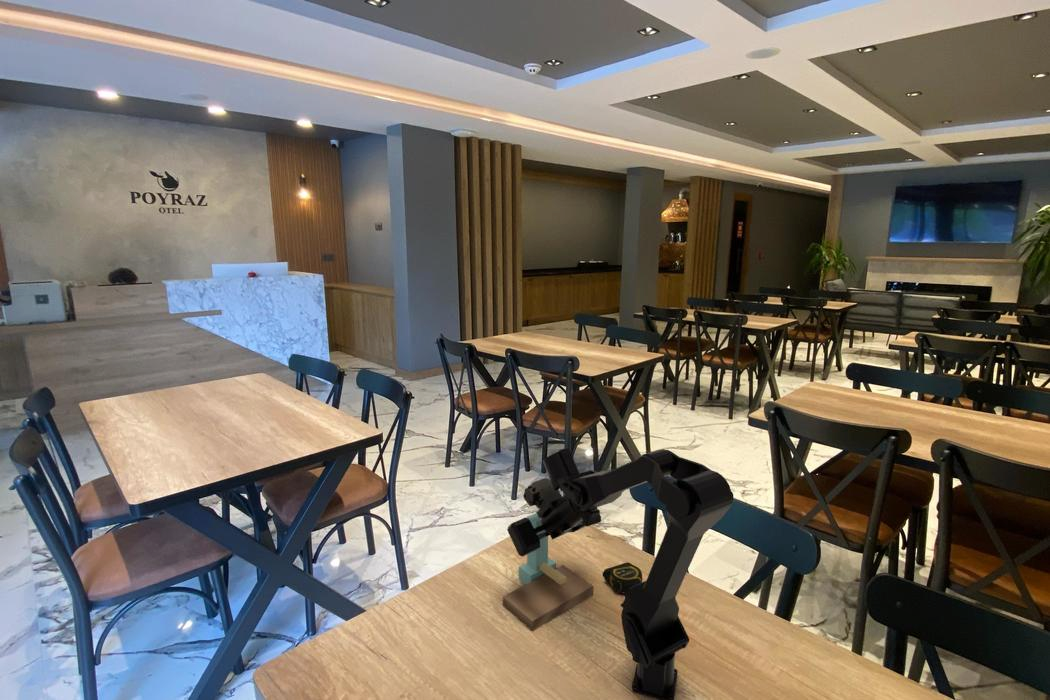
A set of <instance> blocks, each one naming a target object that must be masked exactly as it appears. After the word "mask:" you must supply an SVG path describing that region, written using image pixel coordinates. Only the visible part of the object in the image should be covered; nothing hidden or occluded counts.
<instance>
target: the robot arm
mask: <svg viewBox="0 0 1050 700" xmlns="http://www.w3.org/2000/svg"><path fill="white" fill-rule="evenodd" d="M542 463H543V465H544V467H545V470H546V472H547V475H548V478H547V477H545V478H541V479H538V480H536V481H534V482H532V483H531V484H530V485H528V486H527V487H526V488H525V489H524V493H523V496H522V497H523V499H524V501H525V502H526V503H527V505H529V507H533V506H536V508H538V510H537V511H536V512H535V513H537V515H538V517H539V518H542V519H541V523H542V525H541V526H538V527H536V528H533V525H532V523H531V521H530V520H529V519H527V516H526V517H524V518H520V519H519V520H516V521H513V522H511V523H510V524H509V525H508V526H507V533H508V535H509V537H510V540H511V541H512V543H513V545H514V546H513V547H514V548H515V549H516V552H517V554H518V556H520V557H525V556H527V554H529V553H531V552H533V551H535V550H537V549H538V548H540V539H543V538H545V537H547V536H548V537H549V536H550V538H551V540H552V541H553V540H555V539H557V538H560V537H561V536H565V535H566V534H568V533H575V532H578V531H580V530H581V529H584V528H586V527H587V528H588V527H589V526H593V525H596V524H600V523H601V522H602V516H601V511H600V509H598V508H599V507H602V506H605V505H608V504H610V503H614V502H615V501H616V500H618V499H619V498H620V497H621V496H622V494H623V493H624V492H625V491H627V490H630V489H632V488H634V487H637V486H640V485H643V484H645V483H649V484H650V485H651V487H652V490H653V492H654V496H655V498H656V499H657V500H658V501H659V502H661V503H662V504H663V505H664V508H665V509H664V510H665V513H666V515H667V519H668V521H669V522H668V526H667V528H666V530H665V533H664V535H663V538H662V541H661V543H660V545H659V548H658V551H657V553H656V556H655V558H654V560H653V563H652V566H651V567H650V570H649V573H648V575H647V577H646V580H645V581H642V583H640V584H638V585H635V586H633V587H631V588H628V590H627V592H626V593H625V596H624V600H623V602H622V603H620V607H621V608H622V609H621V615H620V616H621V626H622V630H623V636H624V641H625V646H626V650H627V651H628V652H629V653H630V654H631V657H632V658H631V659H632V661H633V662H634V663H636V667H635V671H634V675H633V680H632V685H631V690H632V692H634V693H638V694H641V695H645V696H648V697H652V698H655V699H658V700H675V698H676V697H675V696H676V688H677V680H678V672H679V671H678V670H677V669H676V668H675V660H676V653H677V652H679V651H680V650H683V649H686V648H687V647H688V644H689V643H690V637H689V635H688V634H687V631H686V630H685V627H684V625H683V623H682V621H681V619H680V617H679V611H680V606H679V604H678V601H677V599H676V596H677V595H678V592H679V591H680V588H681V586H682V584H683V581H684V579H685V577H686V575H687V573H688V570H689V568H690V566H691V564H692V562H693V559H694V557H695V555H696V552H697V550H698V548H699V546H700V543H701V541H702V540H703V537H704V535H705V534H706V533H707V532H708V530H710V529H711V528H712V527H713V526H715V525H716V524H717V523H718V522H719V521H720V520H721V519H722V518H723V517H724V516H725V514H726V513H727V512H728V511H729V510H730V508H731V507H732V505H733V502H734V493H733V492H732V490H731V486H730V484H729V482H728V481H727V479H726V478H725V477H724V476H723V475H722V474H720V473H719V471H716V470H712V469H711V468H709V467H707V466H706V465H704V464H702V463H700V462H696V461H693V460H690V459H687V458H685V457H681V456H679V455H677V454H676V453H674V451H672V450H668V449H664V448H662V449H658V450H654V451H653V450H652V451H651V452H650V451H649V452H646V453H643V454H642V455H641V456H640V457H638V458H636V459H634V460H632V461H629V462H627V463H625V464H623V465H621V466H618V467H616V468H614V469H611V470H610V469H609V470H601V471H596V470H594V469H590V470H586V471H582V472H580V471H579V468H578V466H577V464H576V461H575V460H574V457H573V454H572V452H571V450H570V448H569V447H564V448H561V449H559V450H558V451H556V452H555V453H552V454H550V455H549V456H546V457H545V458H543V459H542ZM668 476H670V477H671V478H673V479H675V481H673V482H672V481H670V480H669V479H668V478H666V477H668ZM561 492H563V494H564V495H563V496H562V494H561ZM542 531H545V532H543V533H541V534H538V533H540V532H542ZM537 534H538V535H537Z"/></svg>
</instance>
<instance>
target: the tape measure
mask: <svg viewBox="0 0 1050 700" xmlns="http://www.w3.org/2000/svg"><path fill="white" fill-rule="evenodd" d="M602 577H603V579H604V581H605V582H606V583H607V584H610V586H611V588H612V589H613V590H615V591H616V592H619V593H622V594H626V592H627V590H628V588H631V587H633V586H635V585H638V584H640V583H642V582H643V572H642V570H641V569H640V568H639V567H638V566H636V565H635V564H633V563H631V562H623V563H621V564H617V565H614V566H611V567H607V568H605V569H604V570H603V571H602Z"/></svg>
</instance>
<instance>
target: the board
mask: <svg viewBox="0 0 1050 700" xmlns="http://www.w3.org/2000/svg"><path fill="white" fill-rule="evenodd" d="M556 570H557V571H558V572H560V573H561V574H563V575H564V576H566V582H564V583H563V584H561V585H560V584H559V583H557V582H556V581H555V580H553V579H552V578H550V577H549V576H548V575H546V574H545V575H543V576H541V577H539V578H537V579H535V580H533V581H531V582H529V583H528V584H524V585H522V586H520V587H518V588H516V589H514V590H512V591H510V592H508V593H507V594H504V595H502V605H503V607H504V608H506V610H508V611H509V612H510V613H511V614H513V616H515V617H516V618H517V619H518V620H519V621H520V622H521V623H522V624H524V625H525V626H526V627H527V628H528V629H529V630H530V631H532V632H533V631H534V630H535V629H536V630H537V629H538V628H540V627H542V626H543V625H545V624H547V623H548V622H550V621H551V620H553V619H554V618H556V617H558V616H560V615H561V614H563V613H565V612H566V611H568V610H570V609H571V608H574V607H575V606H576V605H578V604H579V603H581V602H583V601H585V600H586V599H587V600H588V598H590V597H591V596H593V595H594V587H595V586H594V585H593V584H591V583H590V582H589V581H587V580H586V579H584V578H583V577H582V576H580V575H579V574H577V573H576V572H574V571H573V570H571V569H570V568H568V567H566V566H565V565H560V566H559V567H556Z"/></svg>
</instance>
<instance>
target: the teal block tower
mask: <svg viewBox="0 0 1050 700" xmlns="http://www.w3.org/2000/svg"><path fill="white" fill-rule="evenodd" d="M526 518H527V519H529V520H530V521H531V523H532V525H533V528H536V527H538V526H541V525H542V523H541V519H542V518H539V517H538V515H537V513H536V512H535V513H532V514H529V515H528V516H526ZM543 532H545V531H542V532H540V533H538V534H541V533H543ZM538 534H537V535H538ZM526 558H527V560H526V562H525V563H522V564H521V565H519V566H518V580H519V581H520V582H521V583H523V584H524V585H526V584H528V583H529V582H531V581H533V580H535V579H537V578H539V577H541V576H543V575H545V574H546V575H548V576H549V577H550V578H552V579H553V580H555V581H556V582H557V583H559V584H560V585H561V584H563V583H564V582H566V576H564V575H563V574H561V573H560V572H558V571H557V570H556V568H557V562H555V561H554V560H553V559H551V558H550V557H549V536H547V537H545V538H543V539H540V548H538V549H537V550H535V551H533V552H531V553H529V554H527V555H526Z"/></svg>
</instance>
